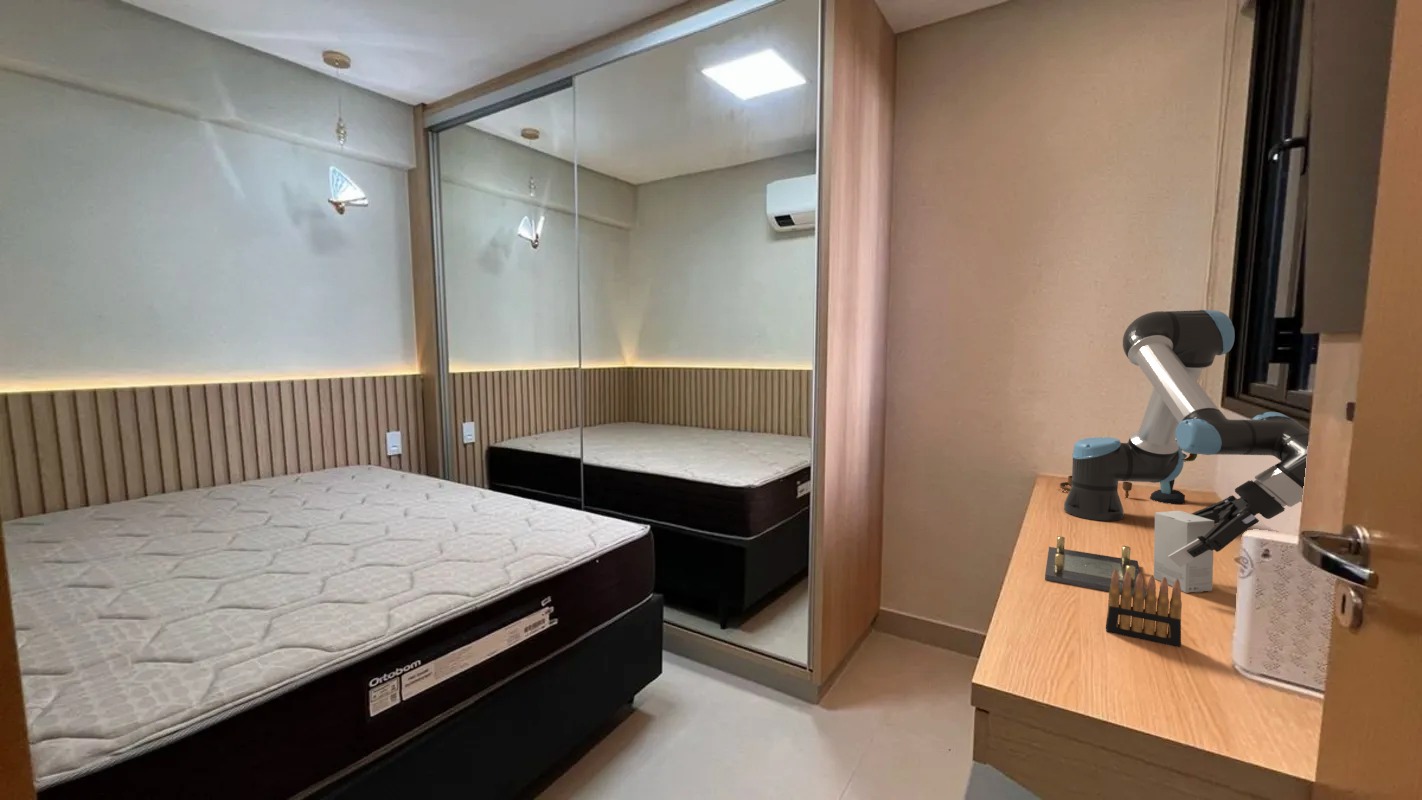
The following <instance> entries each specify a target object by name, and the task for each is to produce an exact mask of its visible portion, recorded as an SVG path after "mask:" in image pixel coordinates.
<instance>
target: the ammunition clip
mask: <svg viewBox="0 0 1422 800" xmlns="http://www.w3.org/2000/svg"><path fill="white" fill-rule="evenodd" d="M1155 580H1156V579H1154V574H1153V575H1152V574H1151V575H1150V576H1149V578H1148V582H1147V589H1146V596H1145V598H1144V589H1143V584H1144V578H1143V575H1142V573H1139V574H1138V576H1137V579H1136V583H1135V590H1134V594H1133V596H1132V593H1131V577H1130V574H1129V572H1128V571H1127V572H1126V573H1125V576H1124V580H1123V587H1122V592H1121V594H1120V591H1119V576H1118V572H1117V570H1116V569H1115V570H1114V571H1113V574H1112V578H1111V585H1110V590H1109V592H1108V599H1107V600H1108V602H1107V613H1106V621H1105V623H1106V624H1105V631H1106V632H1107V633H1109V634H1114V635H1118V636H1123V637H1128V638H1133V639H1138V640H1142V641H1148V642H1151V643H1156V644H1162V645H1166V646H1171V647H1174V648H1176V647H1177V648H1182V609H1183V608H1182V604H1183V603H1182V591H1181V586H1180V582H1179V580H1178V579H1176V581H1175V582H1174V585H1173V587H1172V592H1171V596H1170V597H1171V598H1170V600H1169V585H1168V583H1167V579H1166V578H1165V577H1164V578H1163V579H1162V581H1160V586H1159V591H1158V597H1157V595H1156V593H1157V592H1156V589H1157V588H1156V587H1157V586H1156V581H1155Z"/></svg>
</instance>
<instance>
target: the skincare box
mask: <svg viewBox="0 0 1422 800" xmlns="http://www.w3.org/2000/svg"><path fill="white" fill-rule="evenodd" d="M1214 526H1215V524H1214V520H1210V519H1207V518H1203V517H1200V516H1196V515H1193V514H1191V513H1189V512H1185V511H1183V510H1172V511H1171V510H1169V511H1156V512H1154V540H1153V541H1154V547H1153V549H1154V550H1153V576H1154V578H1155V580H1157V581H1158V582H1161V581H1162V579H1163V578H1164V577H1165V578H1166V579H1167V583H1168V586H1170V587H1171V588H1173V585H1174V582H1175V581H1176V579H1178V580H1179V582H1180V586H1181V592H1184V593H1185V594H1188V593H1189V592H1195V593H1203V591H1208V592H1211V591H1213V578H1214V577H1213V576H1214V575H1213V573H1214V571H1213V570H1214V569H1213V568H1214V550H1212V551H1211V550H1210V551H1208V552H1207V553H1205V554H1203V555H1201V556H1199V557H1198V558H1196V559H1194V560H1192V561H1190V562H1189V563H1187V564H1185V565H1183V566H1181V567H1179V566H1178V565H1177V564H1176V563H1175V562H1174V561H1173V560H1172V559H1170V558H1169V556H1168V555H1170V554H1172V553H1174V552H1175V551H1177V550H1179V549H1181V548H1182V547H1184V546H1186V545H1188V544H1189V543H1191V542H1193V541H1195V540H1196V539H1198V538H1197V537H1199V536H1203V537H1204V536H1205V535H1206V534H1207V533H1208V532H1209V531H1210V530H1211V529H1212V528H1213V527H1214Z"/></svg>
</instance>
